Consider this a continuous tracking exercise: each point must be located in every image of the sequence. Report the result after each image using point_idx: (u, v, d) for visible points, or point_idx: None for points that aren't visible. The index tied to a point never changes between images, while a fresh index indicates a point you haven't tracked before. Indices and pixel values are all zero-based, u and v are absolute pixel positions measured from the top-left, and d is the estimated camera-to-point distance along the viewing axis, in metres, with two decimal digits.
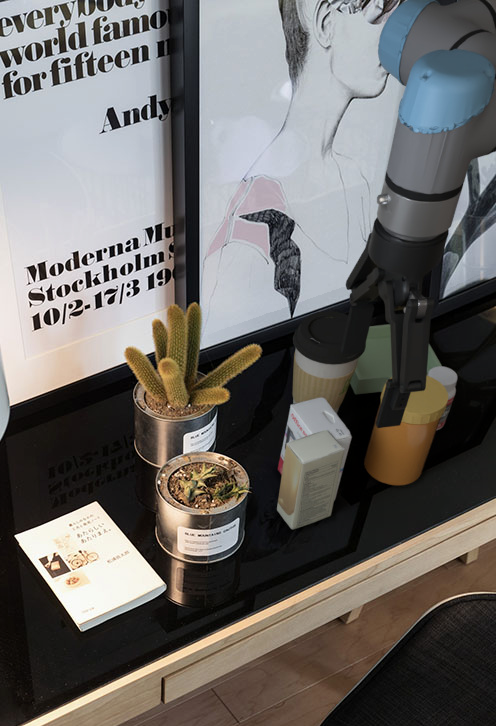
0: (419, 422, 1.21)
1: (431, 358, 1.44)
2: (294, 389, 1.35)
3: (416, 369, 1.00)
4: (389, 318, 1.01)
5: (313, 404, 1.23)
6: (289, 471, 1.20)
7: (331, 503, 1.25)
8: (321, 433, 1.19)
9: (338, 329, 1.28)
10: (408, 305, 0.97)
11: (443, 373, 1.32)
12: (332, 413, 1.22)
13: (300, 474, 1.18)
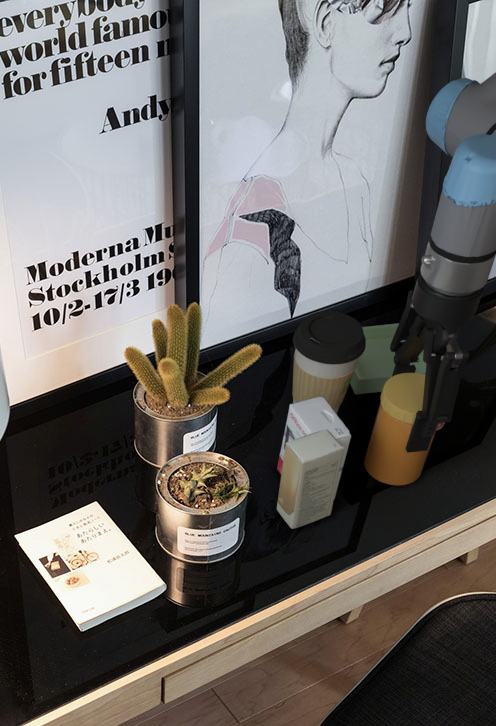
0: None
1: None
2: (294, 389, 1.35)
3: (445, 406, 1.15)
4: (426, 361, 1.15)
5: (312, 403, 1.23)
6: (289, 470, 1.20)
7: (331, 502, 1.25)
8: (321, 433, 1.19)
9: (337, 329, 1.28)
10: (446, 357, 1.10)
11: None
12: (331, 412, 1.22)
13: (299, 473, 1.18)
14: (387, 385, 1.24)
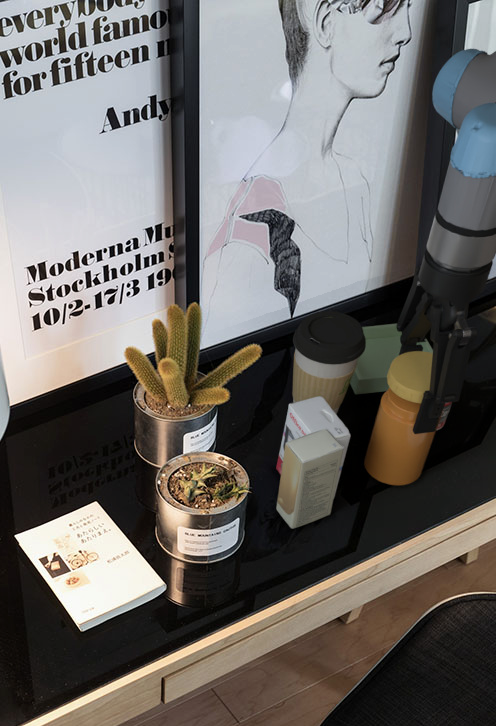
0: None
1: None
2: (294, 389, 1.35)
3: None
4: None
5: (311, 403, 1.23)
6: (289, 470, 1.20)
7: (331, 501, 1.25)
8: (320, 432, 1.20)
9: (337, 329, 1.28)
10: None
11: None
12: (330, 412, 1.22)
13: (299, 473, 1.18)
14: None
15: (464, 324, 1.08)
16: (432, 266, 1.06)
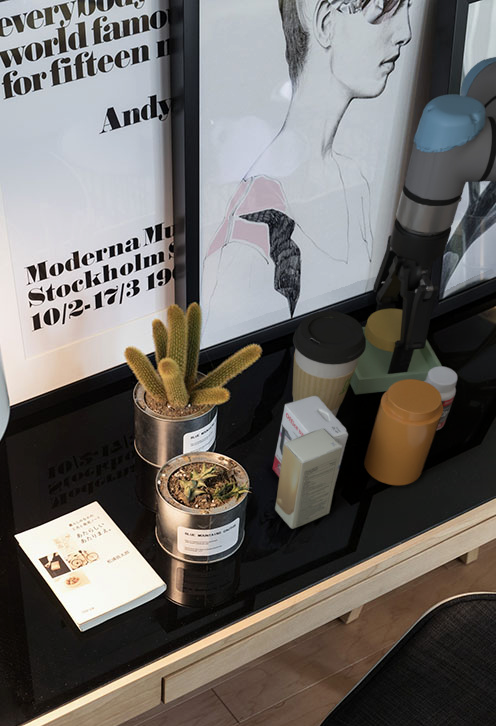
0: None
1: (431, 358, 1.44)
2: (294, 389, 1.35)
3: None
4: None
5: (307, 403, 1.24)
6: (288, 470, 1.20)
7: (330, 500, 1.25)
8: (318, 432, 1.20)
9: (337, 329, 1.28)
10: None
11: (443, 373, 1.32)
12: (327, 411, 1.22)
13: (299, 473, 1.18)
14: None
15: (427, 280, 1.29)
16: (400, 232, 1.27)
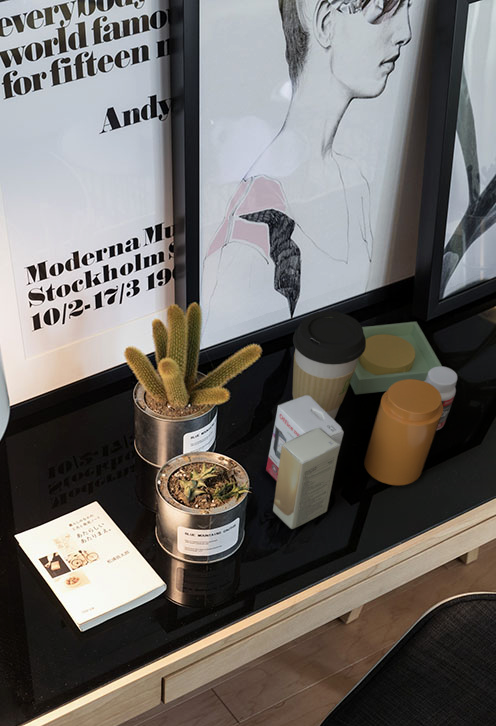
0: None
1: (431, 358, 1.44)
2: (294, 389, 1.35)
3: None
4: None
5: (300, 403, 1.24)
6: (287, 472, 1.20)
7: (327, 499, 1.25)
8: (314, 431, 1.20)
9: (337, 329, 1.28)
10: None
11: (443, 373, 1.32)
12: (320, 410, 1.23)
13: (299, 474, 1.18)
14: (412, 356, 1.43)
15: None
16: None
